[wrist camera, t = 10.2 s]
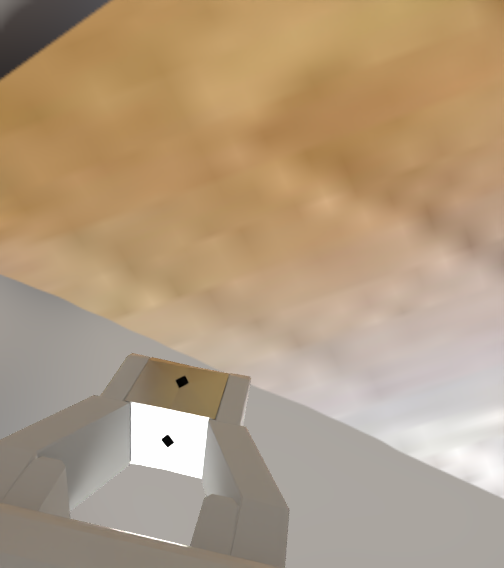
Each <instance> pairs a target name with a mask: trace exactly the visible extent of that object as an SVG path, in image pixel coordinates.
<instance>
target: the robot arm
mask: <svg viewBox="0 0 504 568" xmlns="http://www.w3.org/2000/svg"><path fill="white" fill-rule="evenodd" d="M250 382H251V378H250V377H249V376H244V375H238V374H232V373H231V374H229V373H224V372H219V371H214V370H208V369H203V368H198V367H193V366H189V365H185V364H180V363H175V362H171V361H167V360H162V359H158V358H153V357H152V358H150V357H147V356H143V355H138V354H134V353H132V354H130V355H128V356H127V357H126V359H125V361H124V362H123V363H122V365H121V366H120V368H119V369H118V371H117V372H116V374H115V375H114V377H113V378H112V380H111V381H110V382H109V384H108V385H107V387H106V388H105V390H104V391H103V393H102V394H101V396H96V395H93V396H91V397H89V398H87V399H85V400H83V401H81V402H79V403H77V404H74V405H72V406H70V407H68V408H66V409H64V410H62V411H59V412H57V413H56V414H53V415H51V416H49V417H47V418H45V419H43V420H41V421H39V422H36V423H34V424H32V425H30V426H28V427H26V428H24V429H22V430H20V431H17V432H15V433H13V434H11V435H9V436H7V437H5V438H3V439H1V440H0V568H285V559H286V547H287V534H288V521H289V508H288V506H287V504H286V502H285V500H284V498H283V496H282V495H281V492H280V491H279V489H278V487H277V485H276V483H275V481H274V479H273V477H272V475H271V473H270V472H269V470H268V468H267V466H266V464H265V462H264V460H263V458H262V456H261V455H260V453H259V451H258V449H257V447H256V445H255V443H254V441H253V439H252V437H251V435H250V434H249V432H248V430H247V428H246V427H244V426H243V424H244V418H245V412H246V406H247V400H248V394H249V388H250ZM130 463H134V464H140V465H145V466H150V467H156V468H161V469H166V470H170V471H175V472H178V473H182V474H186V475H190V476H194V477H198V478H202V479H201V480H202V484H203V487H204V491H205V494H206V497H205V498H204V500H203V504H202V507H201V511H200V514H199V517H198V521H197V524H196V527H195V531H194V534H193V538H192V541H191V544H190V546H186V545H182V544H178V543H173V542H169V541H165V540H160V539H156V538H152V537H147V536H143V535H139V534H134V533H130V532H126V531H122V530H117V529H113V528H109V527H104V526H99V525H95V524H91V523H87V522H82V521H78V520H74V519H70V511H72V510H73V509H74V508H75V507H77V506H78V505H79V504H80V503H82V502H83V501H84V500H86V499H87V498H88V497H89V496H90V495H92V494H93V493H95V492H96V491H97V490H98V489H100V488H101V487H102V486H103V485H105V484H106V483H107V482H109V481H110V480H111V479H112V478H114V477H115V476H116V475H117V474H119V473H120V472H121V471H123V470H124V469H125V468H126V467H127V466H129V465H130Z"/></svg>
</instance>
